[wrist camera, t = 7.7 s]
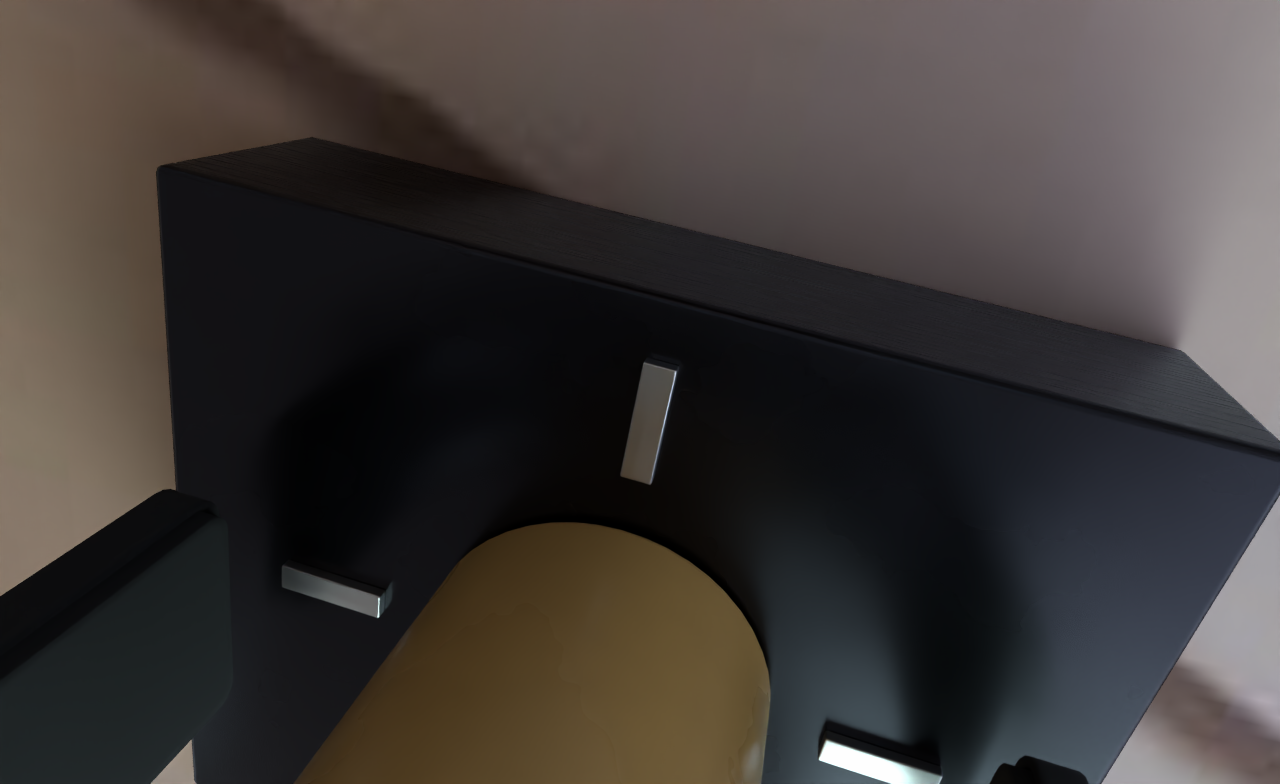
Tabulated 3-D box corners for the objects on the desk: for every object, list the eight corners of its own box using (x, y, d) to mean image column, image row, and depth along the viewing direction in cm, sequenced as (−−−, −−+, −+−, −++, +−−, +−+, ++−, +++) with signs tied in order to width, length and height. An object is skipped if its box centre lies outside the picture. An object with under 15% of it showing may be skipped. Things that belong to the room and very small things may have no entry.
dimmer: (301, 660, 16) (185, 793, 13) (309, 134, 12) (139, 165, 9) (920, 867, 15) (938, 1067, 12) (1186, 350, 10) (1316, 468, 7)
